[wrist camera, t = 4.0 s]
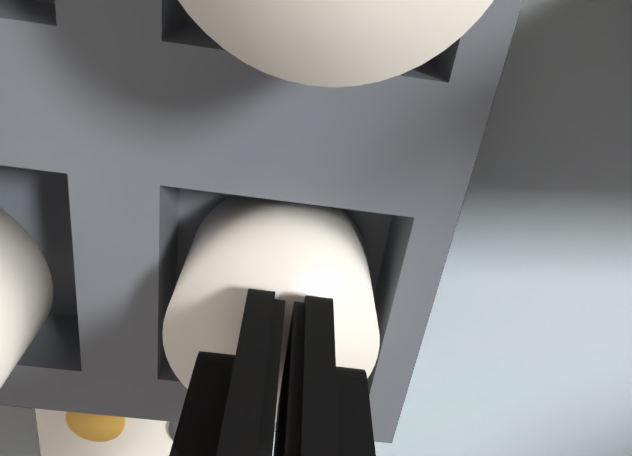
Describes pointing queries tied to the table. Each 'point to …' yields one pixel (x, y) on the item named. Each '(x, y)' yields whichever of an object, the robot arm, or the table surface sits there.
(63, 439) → the pattern card
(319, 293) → the button
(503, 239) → the table surface
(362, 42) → the button
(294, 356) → the robot arm
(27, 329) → the button
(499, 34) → the button board
